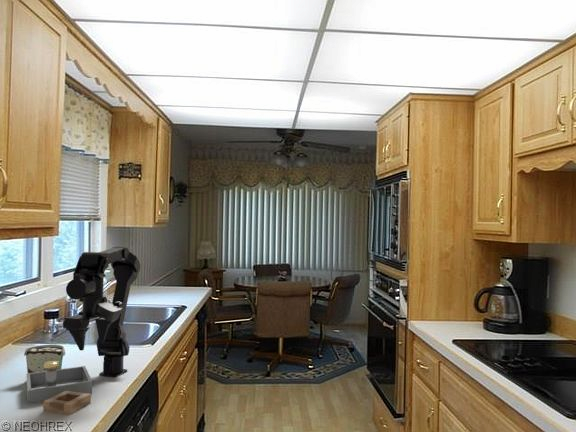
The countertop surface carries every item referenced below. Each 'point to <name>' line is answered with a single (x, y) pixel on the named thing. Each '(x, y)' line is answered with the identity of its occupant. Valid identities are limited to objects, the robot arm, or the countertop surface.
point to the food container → (43, 357)
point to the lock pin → (51, 373)
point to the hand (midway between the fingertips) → (92, 346)
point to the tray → (52, 391)
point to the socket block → (67, 402)
